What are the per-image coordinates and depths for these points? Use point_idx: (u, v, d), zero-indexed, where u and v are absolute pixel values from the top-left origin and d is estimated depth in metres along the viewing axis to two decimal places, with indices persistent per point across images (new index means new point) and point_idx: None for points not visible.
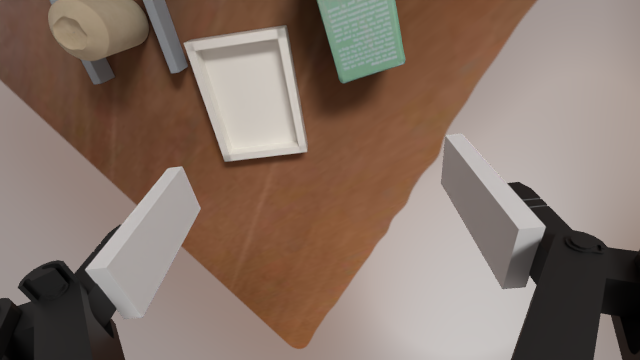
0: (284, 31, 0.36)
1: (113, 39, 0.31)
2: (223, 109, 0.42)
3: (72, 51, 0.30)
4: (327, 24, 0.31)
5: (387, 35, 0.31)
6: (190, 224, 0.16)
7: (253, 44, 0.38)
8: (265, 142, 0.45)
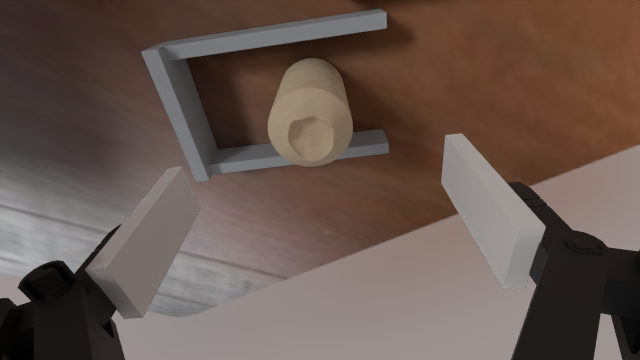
0: None
1: (323, 86, 0.19)
2: None
3: (336, 146, 0.20)
4: None
5: None
6: (190, 224, 0.16)
7: None
8: None
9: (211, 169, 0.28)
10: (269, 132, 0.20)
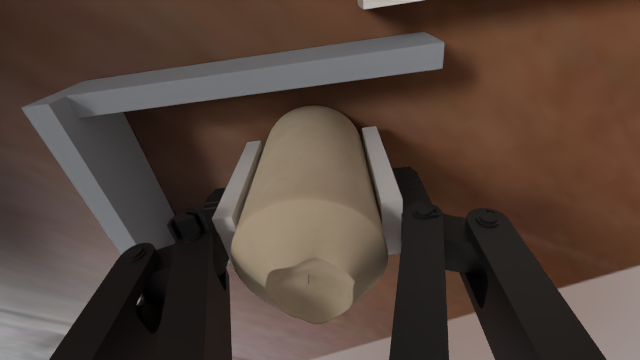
0: None
1: (334, 188, 0.10)
2: None
3: (357, 299, 0.10)
4: None
5: None
6: None
7: None
8: None
9: None
10: (234, 265, 0.11)
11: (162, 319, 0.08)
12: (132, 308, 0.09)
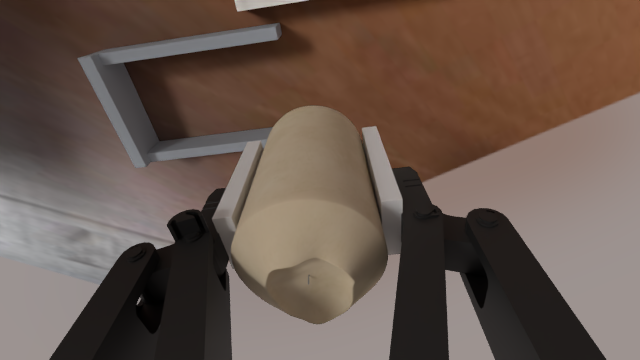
0: None
1: (334, 188, 0.10)
2: None
3: (357, 299, 0.10)
4: None
5: None
6: None
7: None
8: None
9: (149, 157, 0.33)
10: (234, 265, 0.11)
11: (162, 319, 0.08)
12: (132, 308, 0.09)
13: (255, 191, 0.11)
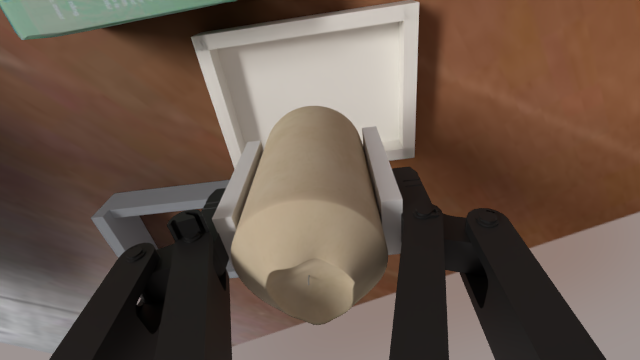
0: (196, 37, 0.22)
1: (334, 189, 0.10)
2: None
3: (357, 300, 0.10)
4: (131, 12, 0.17)
5: None
6: None
7: (233, 87, 0.26)
8: (393, 85, 0.26)
9: None
10: (234, 266, 0.11)
11: (162, 319, 0.08)
12: (132, 308, 0.09)
13: (255, 192, 0.11)
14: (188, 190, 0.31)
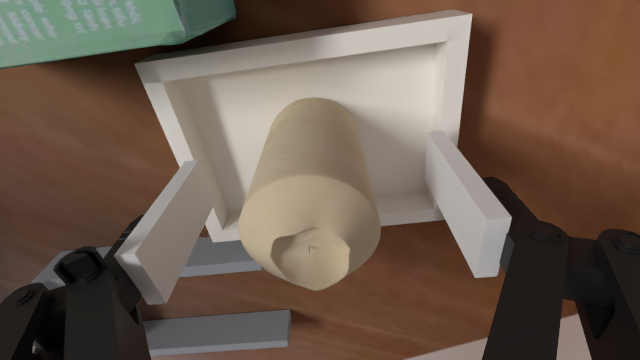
0: (143, 65, 0.15)
1: (332, 167, 0.11)
2: None
3: (353, 267, 0.12)
4: (11, 55, 0.10)
5: None
6: (206, 216, 0.16)
7: (204, 127, 0.19)
8: (423, 125, 0.19)
9: None
10: (241, 238, 0.12)
11: None
12: (27, 351, 0.09)
13: (260, 171, 0.12)
14: None
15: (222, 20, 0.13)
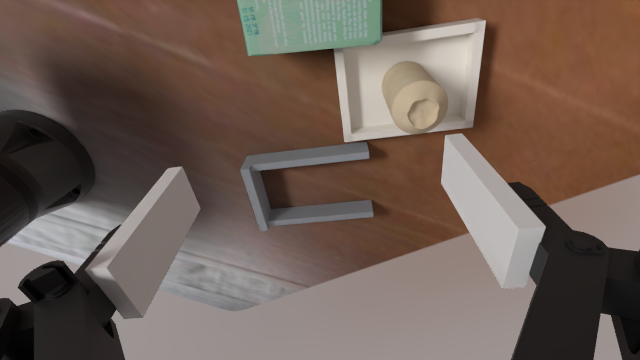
0: None
1: (431, 79, 0.30)
2: None
3: (438, 119, 0.30)
4: (317, 46, 0.30)
5: None
6: (190, 224, 0.16)
7: (349, 77, 0.38)
8: (460, 75, 0.37)
9: (269, 223, 0.48)
10: (392, 109, 0.31)
11: None
12: None
13: (399, 84, 0.31)
14: (303, 152, 0.43)
15: None
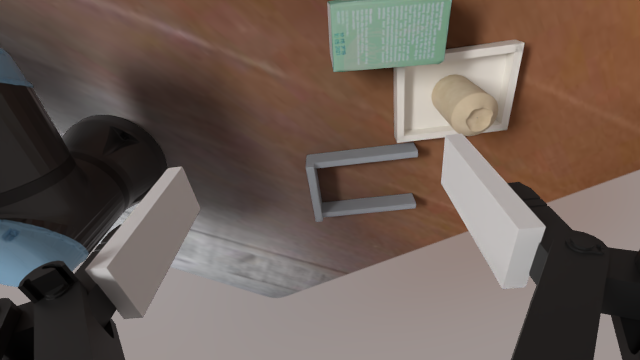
0: None
1: (485, 92, 0.37)
2: None
3: (490, 123, 0.37)
4: (391, 64, 0.36)
5: (420, 9, 0.33)
6: (190, 224, 0.16)
7: (404, 87, 0.44)
8: (498, 86, 0.44)
9: (323, 215, 0.54)
10: (452, 116, 0.38)
11: None
12: None
13: (457, 95, 0.38)
14: (359, 152, 0.50)
15: None
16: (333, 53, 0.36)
